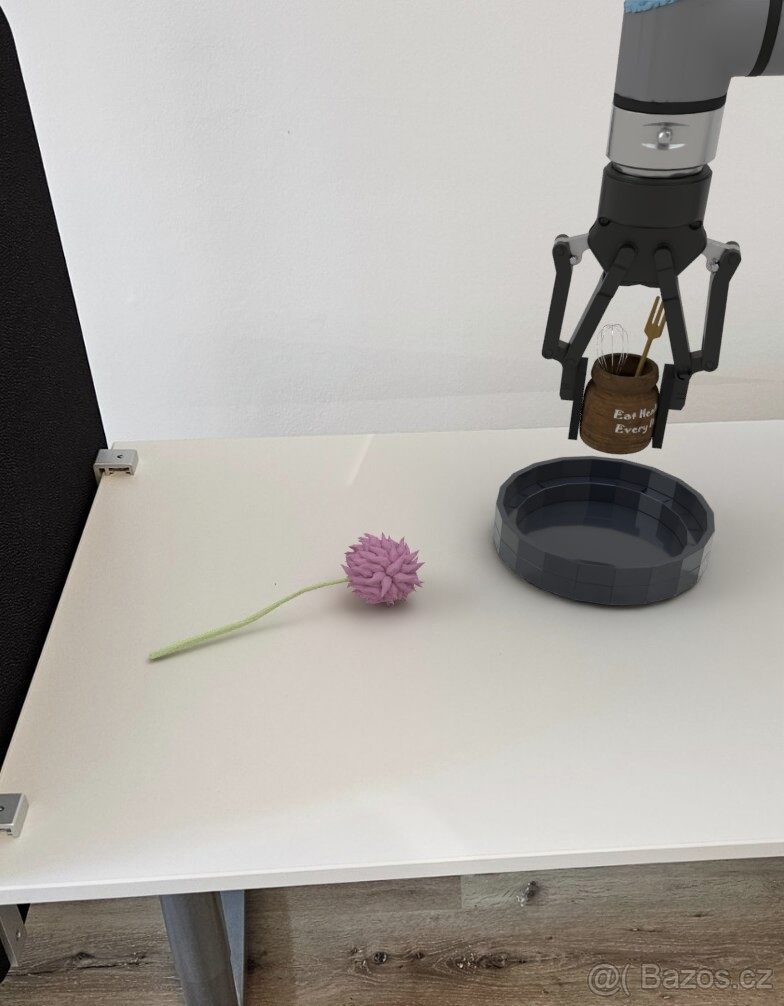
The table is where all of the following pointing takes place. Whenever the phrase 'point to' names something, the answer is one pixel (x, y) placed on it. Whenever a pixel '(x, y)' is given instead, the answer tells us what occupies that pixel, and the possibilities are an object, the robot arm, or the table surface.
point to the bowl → (603, 530)
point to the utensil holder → (622, 396)
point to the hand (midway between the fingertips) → (614, 436)
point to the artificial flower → (372, 571)
